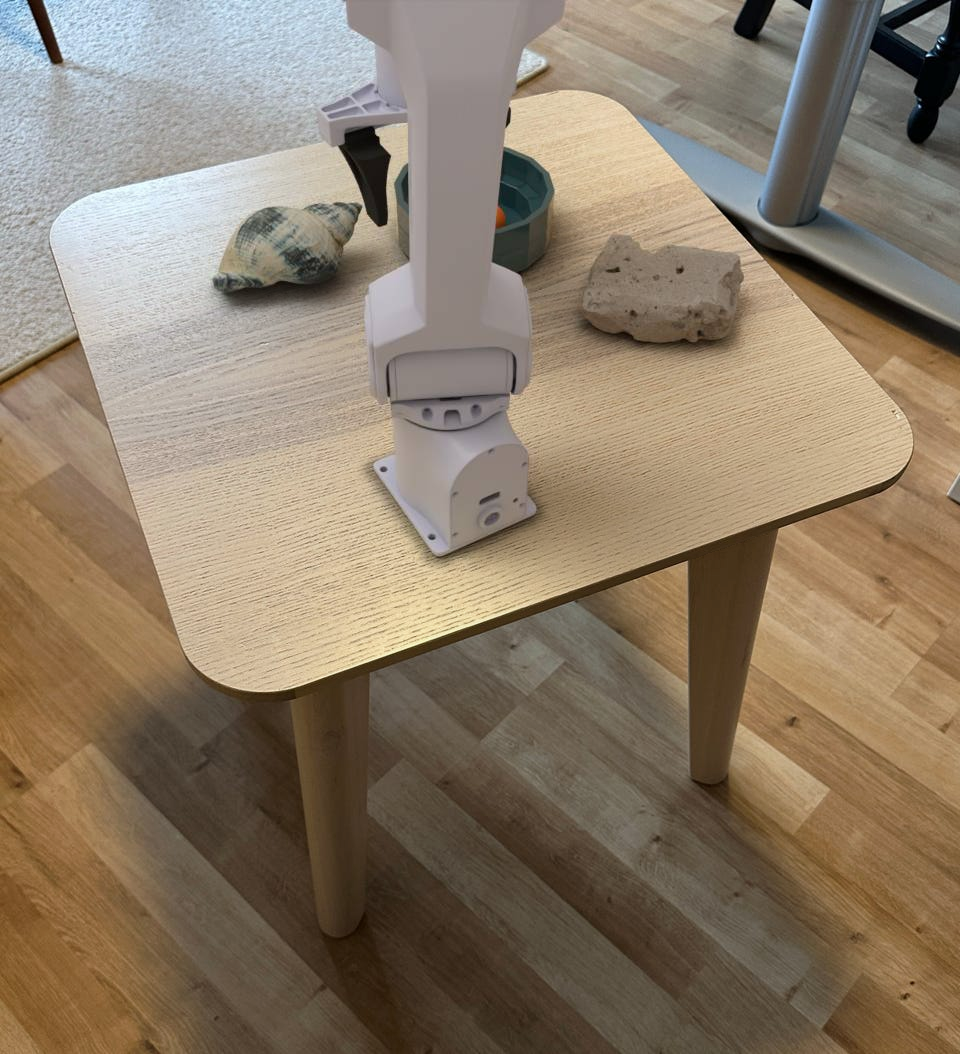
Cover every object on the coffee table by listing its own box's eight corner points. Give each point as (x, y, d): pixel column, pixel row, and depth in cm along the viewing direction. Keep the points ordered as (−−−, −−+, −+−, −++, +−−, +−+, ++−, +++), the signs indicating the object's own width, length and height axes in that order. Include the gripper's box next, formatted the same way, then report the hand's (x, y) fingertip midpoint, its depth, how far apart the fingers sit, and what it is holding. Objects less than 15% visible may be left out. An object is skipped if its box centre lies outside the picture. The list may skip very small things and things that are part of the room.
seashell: (227, 275, 92) (367, 272, 92) (209, 297, 86) (361, 294, 86) (218, 198, 90) (363, 196, 90) (199, 214, 83) (356, 212, 83)
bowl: (578, 254, 92) (584, 204, 88) (444, 303, 88) (443, 252, 84) (499, 178, 100) (500, 128, 96) (371, 219, 95) (367, 169, 91)
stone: (571, 265, 91) (574, 349, 85) (585, 208, 86) (588, 293, 80) (725, 283, 92) (738, 367, 86) (746, 227, 87) (762, 312, 81)
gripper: (482, -25, 75) (479, 152, 85) (289, 22, 70) (311, 204, 80) (536, 17, 71) (526, 197, 81) (336, 70, 66) (353, 255, 76)
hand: (422, 204), depth 81 cm, fingers open, 7 cm apart
